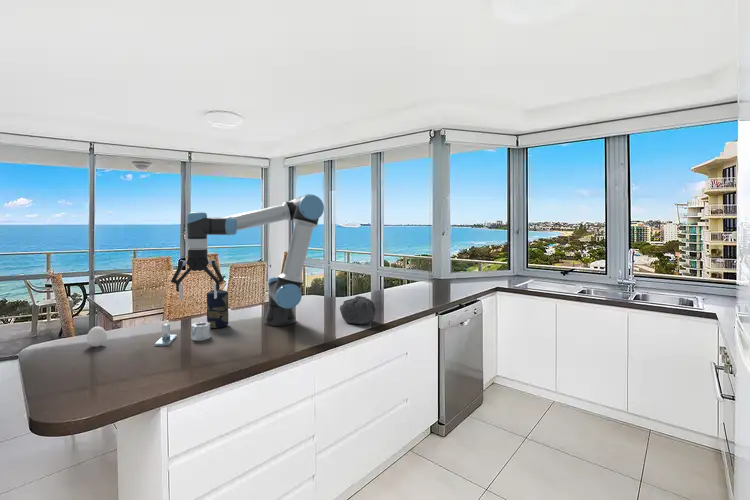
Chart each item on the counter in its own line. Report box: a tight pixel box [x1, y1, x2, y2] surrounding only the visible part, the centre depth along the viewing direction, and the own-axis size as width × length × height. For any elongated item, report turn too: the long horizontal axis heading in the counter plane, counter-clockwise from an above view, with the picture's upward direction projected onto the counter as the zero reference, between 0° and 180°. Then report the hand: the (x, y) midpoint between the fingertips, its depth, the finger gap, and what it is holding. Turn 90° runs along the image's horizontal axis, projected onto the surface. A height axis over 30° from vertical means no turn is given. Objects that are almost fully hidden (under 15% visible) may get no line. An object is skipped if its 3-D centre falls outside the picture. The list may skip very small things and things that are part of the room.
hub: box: [190, 321, 211, 342], centre depth 160 cm, size 7×7×6 cm
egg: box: [86, 326, 108, 348], centre depth 147 cm, size 6×6×8 cm
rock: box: [339, 295, 377, 325], centre depth 191 cm, size 22×14×15 cm
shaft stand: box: [154, 323, 178, 347], centre depth 155 cm, size 5×12×7 cm, turn 14°
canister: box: [206, 289, 229, 329], centre depth 178 cm, size 10×10×18 cm
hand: (198, 298), depth 160 cm, fingers open, 13 cm apart
